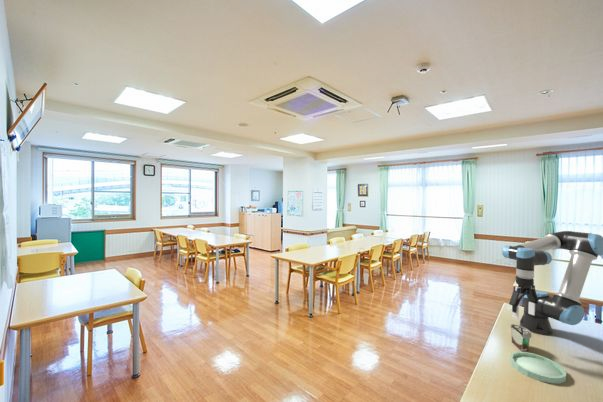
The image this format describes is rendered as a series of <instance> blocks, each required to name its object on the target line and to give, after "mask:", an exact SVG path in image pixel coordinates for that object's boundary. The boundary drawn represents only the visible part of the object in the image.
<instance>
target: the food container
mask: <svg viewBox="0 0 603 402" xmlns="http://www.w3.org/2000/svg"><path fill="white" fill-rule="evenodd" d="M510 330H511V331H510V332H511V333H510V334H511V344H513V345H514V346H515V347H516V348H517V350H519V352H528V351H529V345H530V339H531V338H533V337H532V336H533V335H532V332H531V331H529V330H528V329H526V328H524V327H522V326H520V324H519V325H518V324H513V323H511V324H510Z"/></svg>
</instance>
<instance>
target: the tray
mask: <svg viewBox="0 0 603 402" xmlns="http://www.w3.org/2000/svg"><path fill="white" fill-rule="evenodd" d="M509 362H510V365H511V366H512V368H514V369H515V370H516V371H517V372H519V373H521V374H523V375H525V376H526V377H529V378H531V379H534V380H536V381H539V382H543V383H547V384H557V385H558V384H563V383H565V382H567V371H566V369H565V368H564V367H563V366H562V365H560V364H558V363H557V362H556V361H554V360H552V359H550V358H548V357H546V356H544V355H539V354H536V353H532V352H528V351H527V352H521V351H514V352H511V353H510V355H509Z"/></svg>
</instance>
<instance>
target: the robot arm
mask: <svg viewBox="0 0 603 402" xmlns="http://www.w3.org/2000/svg"><path fill="white" fill-rule="evenodd" d="M550 250H551V251H552V250H567V251H568V253H570V259H569V261H568V264H567V267H566V270H565V272H564V276H563V279H562V281H561V284H560V286H559V287H560V288H559V290H558V292H557V293H554V294H553V296H550V293H549V292H547V291H545V290H543V291H542V290H536V285H534V284H535V282H534V281H535V280H534V278H535V267H536V266H546V265H549V264H551V263H552V261H553V257H552V255H551V253H550V252H548V251H550ZM501 252H502V253H501V254H502V256H503V257H504V258H506V259H509V260H514V261H516V262H515V263H516V266H515V268H516V269H515V275H516V276H515V283H516V284H517V285H518V286H513V289H512V294H511V297H510V299H509V303H508V304H509V305H511V307H512V308H511V318H513V319H516V320H519V315H520V312H519V311H520V307H519V305H520V302H521V301H522V299H523V315H522V316H521V319H520V321H519V326H522V327H524V328H526V329H528V330H529V331H530V332H531V333H534V334H539V335H552V333H553V327H552V325H551V322H550V319H549V318H551V319H553V320H556V321H558V322H561V323H562V324H567V325H570V326H575V325H579V324H580V323H581V322H582V320H584V317H585V309H584V307H583V306H582V303H581V301H580V297H581V295H582V291H583V288H584V286H585V282H586V279H587V277H588V274H589V271H590V268H591V265H592V262H593V261H595V260H597V259H598V257H599V256H603V236H602V235H601V234H598V233H592V232H582V231H581V232H580V231H572V230H563V231H557V232H551V233H549V234H545V235H544V236H543V237H541V238H538V239H534V240H531V241H528V242H525V243H521V244H518V245H514V246H513V245H504V246H503V247H502V250H501Z"/></svg>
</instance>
